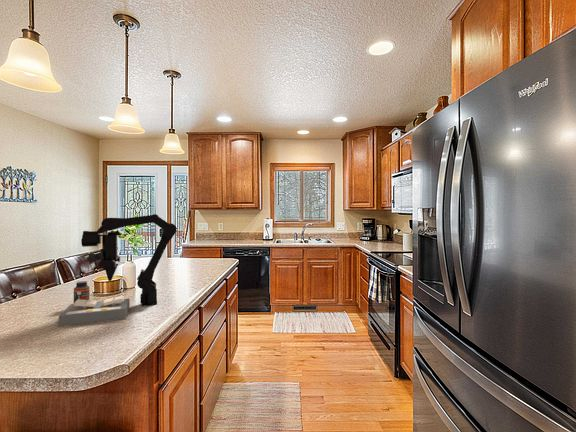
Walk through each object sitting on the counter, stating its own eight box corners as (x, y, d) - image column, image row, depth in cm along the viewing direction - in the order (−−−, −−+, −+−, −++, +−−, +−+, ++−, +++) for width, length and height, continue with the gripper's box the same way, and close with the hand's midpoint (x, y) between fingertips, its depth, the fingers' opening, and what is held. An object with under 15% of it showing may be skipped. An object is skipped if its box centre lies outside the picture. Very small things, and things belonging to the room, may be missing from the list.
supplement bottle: (81, 309, 134) (81, 283, 134) (70, 308, 135) (70, 283, 135) (92, 305, 140) (92, 280, 140) (81, 304, 141) (81, 280, 141)
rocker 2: (124, 298, 131) (123, 295, 131) (123, 301, 126) (122, 298, 126) (105, 302, 128) (105, 299, 128) (103, 305, 124) (103, 302, 124)
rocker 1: (96, 303, 127) (97, 300, 127) (94, 306, 123) (94, 303, 123) (77, 302, 125) (77, 299, 125) (73, 305, 120) (74, 302, 120)
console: (129, 307, 137) (129, 296, 137) (125, 318, 122) (125, 306, 122) (70, 313, 128) (70, 301, 128) (58, 326, 114) (58, 313, 114)
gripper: (93, 244, 142) (93, 278, 142) (83, 248, 125) (83, 287, 125) (120, 243, 146) (120, 276, 146) (114, 247, 129) (114, 284, 129)
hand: (109, 280), depth 136 cm, fingers closed
